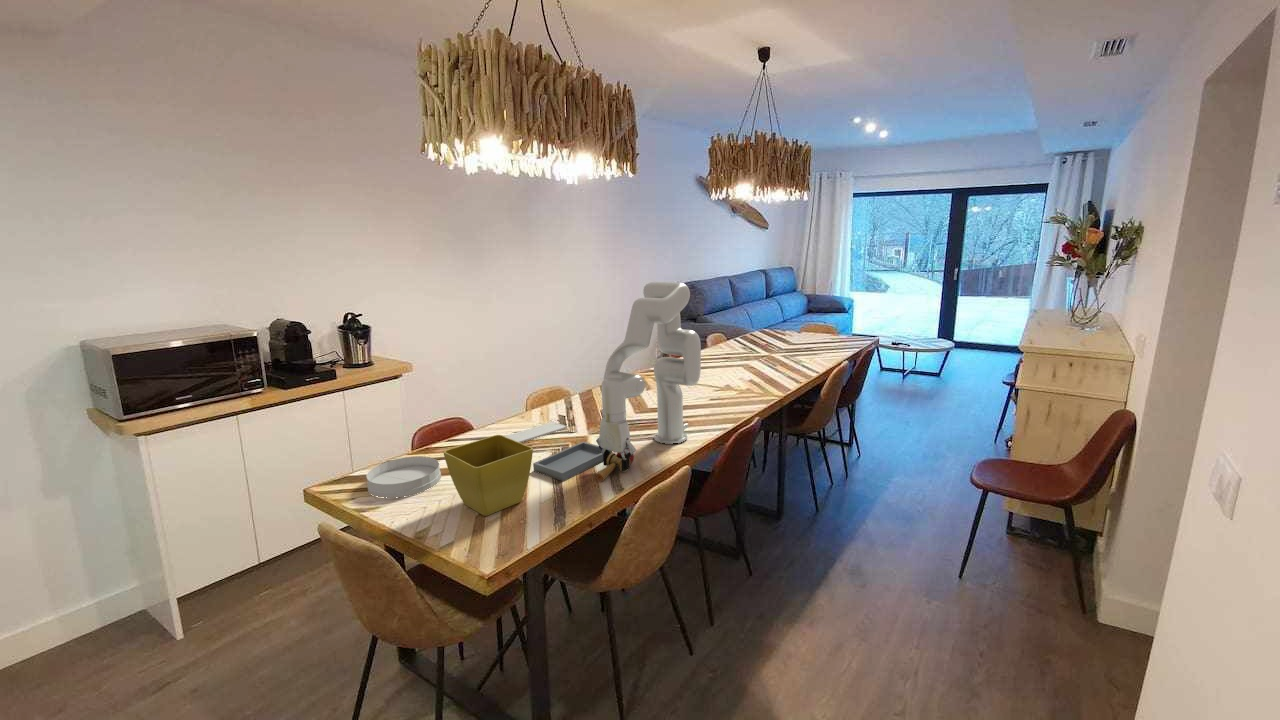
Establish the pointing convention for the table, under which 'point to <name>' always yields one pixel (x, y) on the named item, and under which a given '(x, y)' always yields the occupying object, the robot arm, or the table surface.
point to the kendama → (612, 465)
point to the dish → (403, 477)
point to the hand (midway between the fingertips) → (616, 466)
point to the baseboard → (536, 431)
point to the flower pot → (490, 472)
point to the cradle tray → (570, 461)
